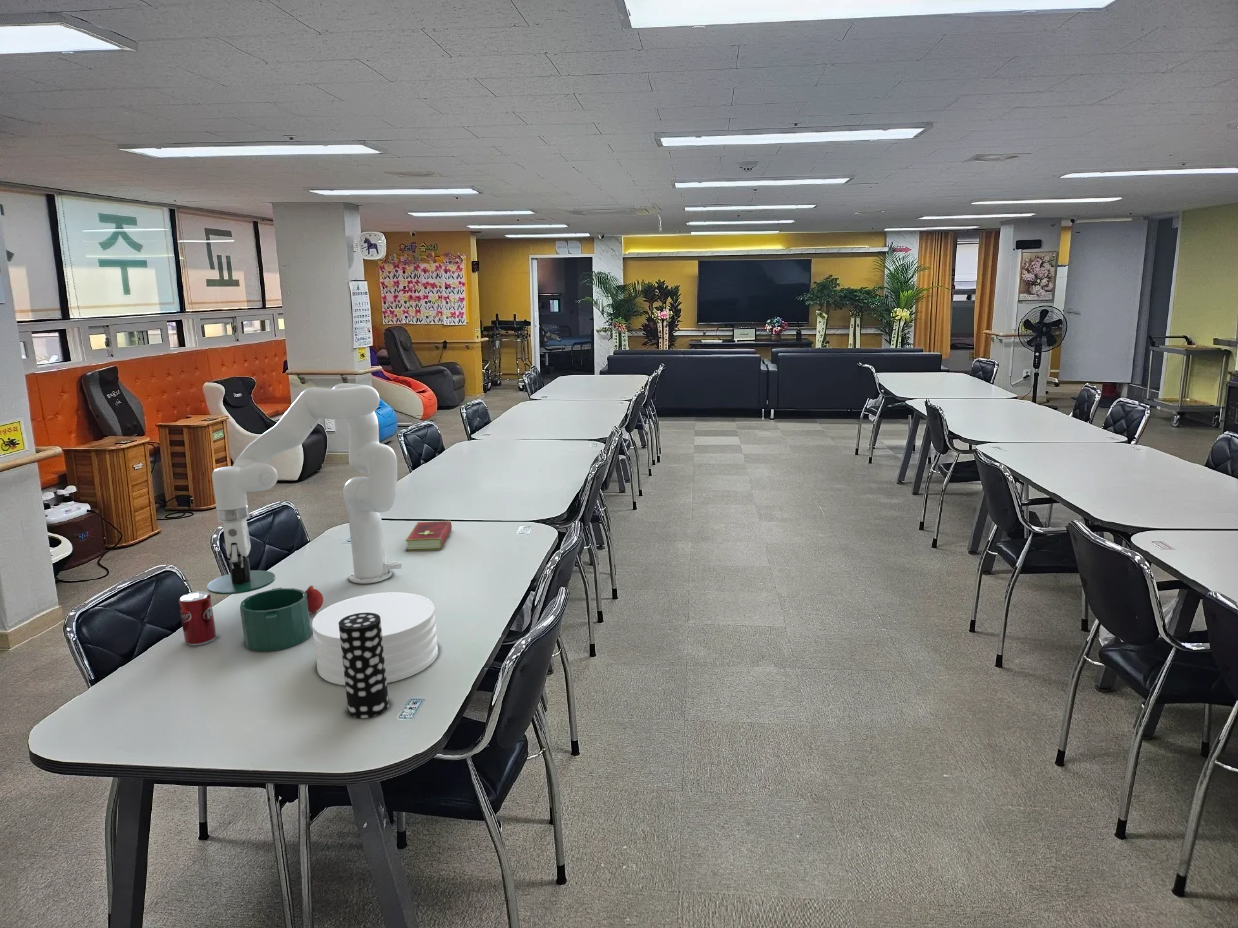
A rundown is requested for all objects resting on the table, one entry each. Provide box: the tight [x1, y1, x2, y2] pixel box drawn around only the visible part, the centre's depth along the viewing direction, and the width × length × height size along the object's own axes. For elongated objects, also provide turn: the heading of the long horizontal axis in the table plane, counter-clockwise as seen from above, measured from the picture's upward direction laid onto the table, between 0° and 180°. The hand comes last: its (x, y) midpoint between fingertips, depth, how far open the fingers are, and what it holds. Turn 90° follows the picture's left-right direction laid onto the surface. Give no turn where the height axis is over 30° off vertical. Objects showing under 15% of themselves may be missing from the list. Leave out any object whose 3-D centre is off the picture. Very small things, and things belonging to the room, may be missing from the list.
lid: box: [206, 556, 276, 595], centre depth 220 cm, size 17×17×7 cm
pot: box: [239, 587, 312, 652], centre depth 210 cm, size 16×21×10 cm
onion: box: [304, 585, 324, 614], centre depth 226 cm, size 6×6×8 cm
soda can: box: [178, 591, 217, 646], centre depth 210 cm, size 7×7×12 cm
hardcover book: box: [405, 520, 453, 552], centre depth 287 cm, size 12×21×4 cm, turn 2°
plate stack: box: [311, 591, 439, 686], centre depth 197 cm, size 28×28×12 cm
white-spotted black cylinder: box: [339, 613, 390, 719], centre depth 173 cm, size 8×8×20 cm
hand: (241, 578), depth 221 cm, fingers closed on lid, 4 cm apart
